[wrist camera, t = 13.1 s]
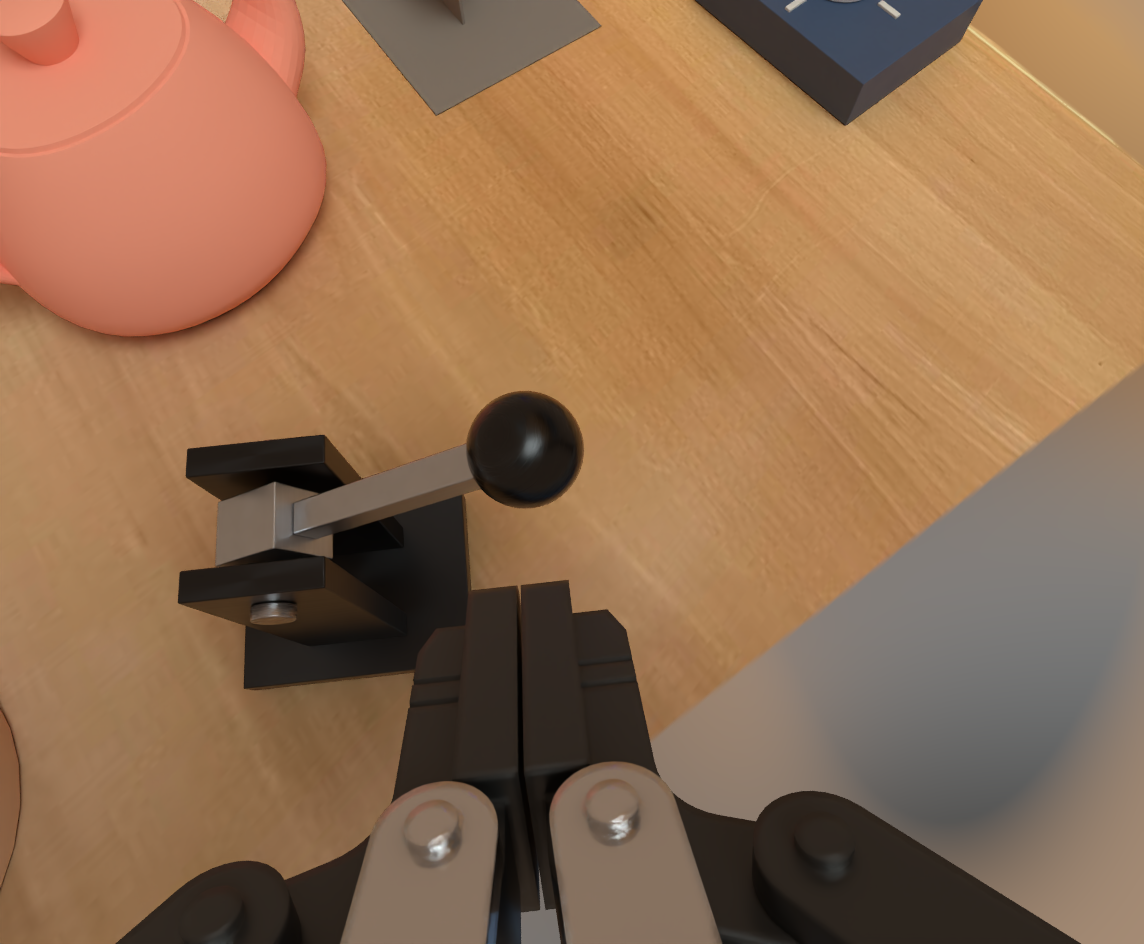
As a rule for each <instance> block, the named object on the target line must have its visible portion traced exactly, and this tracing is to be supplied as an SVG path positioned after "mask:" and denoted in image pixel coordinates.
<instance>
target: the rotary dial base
mask: <svg viewBox="0 0 1144 944" xmlns="http://www.w3.org/2000/svg"><path fill="white" fill-rule="evenodd" d="M696 1H697V2H698V3H699V4H700V5H702V6H703V7H704V8H705V9H706V10H708V11H709V12H710V13H711V14H712V15H714V16H715V17H716V18H717V19H718V20H720V21H721V22H722V23H723V24H724V25H726V26H727V27H728V28H729V29H730V30H732V31H733V32H734V33H735V34H736V35H738V36H739V37H740V38H741V39H742V40H744V41H745V42H746V43H747V44H748V45H750V46H751V47H752V48H753V49H754V50H756V51H757V52H758V53H759V54H760V55H762V56H763V57H764V58H765V59H766V60H768V61H769V62H770V63H771V64H772V65H774V66H775V67H776V68H777V69H778V70H779V71H781V72H782V73H783V74H784V75H785V76H787V77H788V78H789V79H790V80H791V81H793V82H794V83H795V84H796V85H797V86H799V87H800V88H801V89H802V90H803V91H805V92H806V93H807V94H808V95H809V96H811V97H812V98H813V99H814V100H815V101H817V102H818V103H819V104H820V105H821V106H823V107H824V108H825V109H826V110H827V111H829V112H830V113H831V114H832V115H833V116H835V117H836V118H837V119H838V120H839V121H841V122H842V123H843V124H844V125H847V124H848V123H850V122H851V121H853V120H854V119H855V118H857V117H858V116H859V115H861V114H862V113H863V112H865V111H866V110H868V109H869V108H870V107H872V106H873V105H874V104H876V103H877V102H878V101H880V100H881V99H882V98H884V97H885V96H887V95H888V94H889V93H891V92H892V91H893V90H895V89H896V88H897V87H899V86H900V85H902V84H903V83H904V82H906V81H907V80H908V79H910V78H911V77H912V76H914V75H915V74H916V73H918V72H919V71H921V70H922V69H923V68H925V67H926V66H927V65H929V64H930V63H931V62H933V61H934V60H936V59H937V58H938V57H940V56H941V55H942V54H944V53H945V52H946V51H948V50H949V49H951V48H952V47H953V46H955V45H956V44H957V43H959V42H960V41H961V39H962V37H963V35H964V33H965V32H966V30H967V28H968V26H969V24H970V23H971V21H972V19H973V17H974V15H975V13H976V12H977V10H978V8H979V6H980V4H981V2H982V1H983V0H860V1H856V2H848V3H843V2H834V1H830V0H696Z"/></svg>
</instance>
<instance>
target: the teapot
mask: <svg viewBox="0 0 1144 944" xmlns="http://www.w3.org/2000/svg"><path fill="white" fill-rule="evenodd" d="M304 58H305V39H304V30H303V26H302V22H301V18H300V14H299V11H298V8H297V5H296V2H295V0H232V5H231V8H230V11H229V14H228V17H227V19H226V22H225V23H224V22H223V21H221V20H220V19H219V18H218V17H216V16H215V15H213V14H212V13H210V12H209V11H208V10H206V9H205V8H203V7H202V6H200V5H199V4H197V3H196V2H194V1H193V0H0V283H2V284H11V285H18V286H20V287H21V288H22V289H23V290H24V291H25V292H26V293H28V294H29V295H30V296H31V297H32V298H34V299H35V300H36V301H37V302H38V303H40V304H41V305H42V306H44V307H45V308H47V309H48V310H50V311H52V312H53V313H55V314H56V315H58V316H59V317H61V318H63V319H66V320H68V321H70V322H72V323H74V324H76V325H78V326H80V327H83V328H87V329H90V330H93V331H97V332H101V333H104V334H109V335H118V336H150V335H158V334H164V333H170V332H175V331H179V330H183V329H186V328H189V327H193V326H196V325H198V324H201V323H203V322H206V321H208V320H210V319H213V318H215V317H217V316H219V315H221V314H223V313H225V312H227V311H229V310H231V309H233V308H235V307H236V306H238V305H240V304H241V303H243V302H244V301H246V300H247V299H249V298H251V297H252V296H253V295H254V294H256V293H257V292H258V291H259V290H261V289H262V288H263V287H265V286H266V285H267V284H268V283H269V282H270V281H271V280H272V279H273V278H274V277H275V276H276V275H277V274H278V273H279V272H280V271H281V270H282V269H283V268H284V266H285V265H286V264H287V263H288V262H289V260H290V259H291V258H292V257H293V255H294V254H295V252H296V251H297V250H298V248H299V247H300V245H301V244H302V242H303V241H304V239H305V238H306V236H307V234H308V232H309V230H310V228H311V226H312V225H313V223H314V221H315V219H316V217H317V214H318V212H319V209H320V206H321V203H322V201H323V197H324V191H325V186H326V159H325V154H324V149H323V146H322V143H321V141H320V138H319V136H318V134H317V131H316V129H315V127H314V125H313V123H312V121H311V119H310V117H309V116H308V114H307V113H306V111H305V110H304V108H303V107H302V106H301V104H300V103H299V101H298V100H297V98H296V97H297V93H298V89H299V85H300V81H301V77H302V73H303V67H304Z"/></svg>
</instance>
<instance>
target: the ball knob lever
mask: <svg viewBox="0 0 1144 944" xmlns="http://www.w3.org/2000/svg"><path fill="white" fill-rule="evenodd" d="M186 478H188V479H189V480H191V481H192V482H194V483H195V484H197V485H198V486H200V487H201V488H203V489H205V490H206V491H208V492H209V493H211V494H212V495H214V496H215V497H217V498H218V499H220V500H221V501H223V500H226V499H228V498H231V497H234V496H237V495H239V494H242V493H245V492H248V491H250V490H253V489H256V488H258V487H261V486H264V485H267V484H269V483H272V482H279V483H282V484H286V485H290V486H294V487H298V488H301V489H305V490H309V491H313V492H316V493H323V492H326V491H329V490H332V489H334V488H337V487H340V486H343V485H346V484H349V483H352V482H355V481H358V480H361V477H360V476H359V475H358V474H357V473H356V471H355V470H354V469H353V468H352V467H351V466H350V464H349V463H348V462H347V461H346V460H345V458H344V457H343V456H342V455H341V454H340V453H339V451H338V450H337V449H336V448H335V447H334V446H333V444H332V443H331V442H330V441H329V440H328V438H327V437H326V436H325V435H316V436H306V437H296V438H287V439H277V440H265V441H258V442H248V443H238V444H229V445H219V446H209V447H200V448H190V449H188V450H187V463H186ZM469 591H471V580H470V565H469V549H468V534H467V519H466V504H465V497H464V495H459V496H456V497H453V498H450V499H446V500H443V501H440V502H436V503H433V504H430V505H427V506H423V507H420V508H417V509H413V510H410V511H407V512H404V513H400V514H397V515H394V516H390V517H387V518H384V519H381V520H377V521H374V522H371V523H367V524H364V525H361V526H358V527H354V528H351V529H348V530H344V531H341V532H338V533H335V534H333V558H332V559H328V558H327V557H325V556H318V557H309V558H300V559H290V560H281V561H272V562H262V563H253V564H244V565H235V566H225V567H216V568H207V569H197V570H188V571H181V572H180V577H179V593H178V603H179V604H181V605H184V606H187V607H190V608H193V609H197V610H200V611H203V612H206V613H209V614H212V615H215V616H218V617H221V618H224V619H227V620H230V621H233V622H236V623H239V624H242V625H245V626H246V633H245V665H244V689H250V690H262V689H271V688H280V687H289V686H297V685H306V684H315V683H324V682H333V681H342V680H351V679H360V678H369V677H378V676H387V675H396V674H404V673H413V672H415V668H416V662H417V656H418V653H419V651H420V650H421V649H422V647H423V646H424V644H425V643H426V642H427V640H428V639H429V638H430V636H431V635H432V634H433V632H434V631H435V630H436V629H437V628H446V627H455V626H464V625H465V623H466V612H467V601H468V593H469Z"/></svg>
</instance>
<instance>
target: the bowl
mask: <svg viewBox="0 0 1144 944" xmlns="http://www.w3.org/2000/svg"><path fill="white" fill-rule="evenodd" d="M19 810H20V779H19V763H18V758H17V754H16V750H15V746H14V742H13V738H12V734H11V730H10V727H9V725H8V723H7V721H6V719H5V717H4V715H3V713H2V711H1V709H0V888H1V885H2V882H3V879H4V876H5V873H6V870H7V867H8V864H9V861H10V858H11V855H12V852H13V849H14V843H15V837H16V830H17V824H18V817H19Z"/></svg>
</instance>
